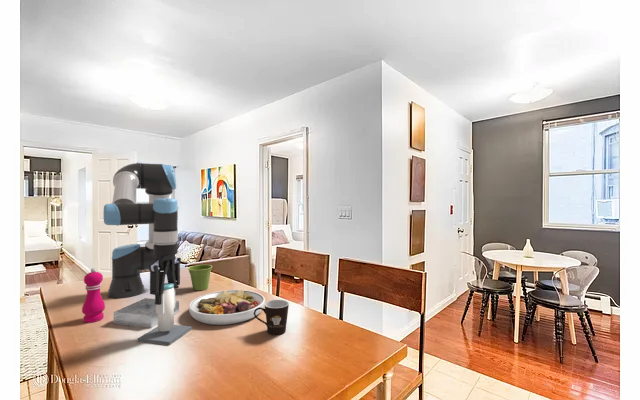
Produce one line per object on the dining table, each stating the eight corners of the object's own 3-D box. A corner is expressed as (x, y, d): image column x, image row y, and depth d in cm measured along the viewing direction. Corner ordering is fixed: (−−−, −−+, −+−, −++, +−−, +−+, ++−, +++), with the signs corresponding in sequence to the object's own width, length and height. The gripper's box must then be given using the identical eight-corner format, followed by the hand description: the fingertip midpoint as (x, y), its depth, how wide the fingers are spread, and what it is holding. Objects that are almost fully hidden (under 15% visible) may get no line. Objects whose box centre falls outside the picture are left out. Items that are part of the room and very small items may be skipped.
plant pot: (195, 285, 168) (195, 264, 168) (216, 286, 166) (216, 265, 166) (182, 291, 156) (182, 269, 156) (205, 293, 154) (205, 270, 154)
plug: (164, 324, 112) (164, 282, 111) (176, 325, 111) (176, 283, 110) (154, 330, 107) (154, 286, 106) (167, 331, 106) (167, 287, 105)
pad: (162, 326, 116) (162, 323, 116) (191, 329, 113) (191, 326, 113) (137, 341, 104) (137, 338, 104) (169, 344, 102) (169, 341, 102)
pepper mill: (93, 324, 117) (92, 270, 117) (77, 322, 119) (76, 269, 118) (109, 316, 124) (109, 266, 124) (94, 315, 126) (94, 265, 125)
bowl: (176, 313, 129) (176, 294, 129) (239, 296, 151) (239, 279, 151) (212, 336, 109) (212, 313, 109) (279, 312, 131) (279, 294, 131)
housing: (145, 308, 133) (145, 298, 133) (179, 311, 130) (179, 300, 130) (113, 324, 117) (113, 312, 117) (151, 327, 114) (151, 315, 114)
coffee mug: (292, 328, 115) (292, 301, 115) (282, 338, 107) (282, 309, 107) (264, 323, 119) (264, 297, 119) (252, 333, 111) (252, 305, 110)
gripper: (173, 239, 118) (173, 300, 118) (136, 247, 100) (136, 319, 100) (191, 239, 116) (191, 302, 117) (157, 248, 98) (157, 321, 99)
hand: (165, 310), depth 109 cm, fingers closed on plug, 5 cm apart
